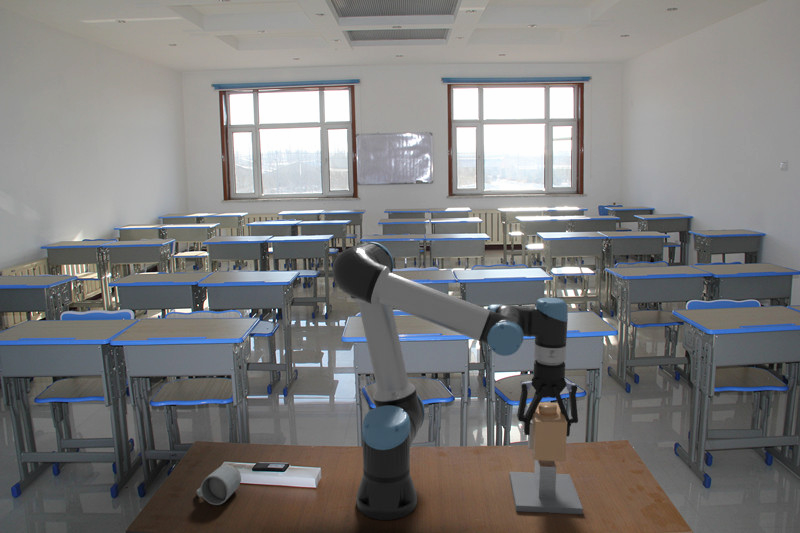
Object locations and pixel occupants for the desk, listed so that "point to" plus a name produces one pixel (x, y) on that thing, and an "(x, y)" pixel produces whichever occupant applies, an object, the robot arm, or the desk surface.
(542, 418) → the tan block with dome
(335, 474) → the desk surface
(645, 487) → the desk surface
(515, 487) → the grey square plate
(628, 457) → the desk surface
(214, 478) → the ceramic mug
